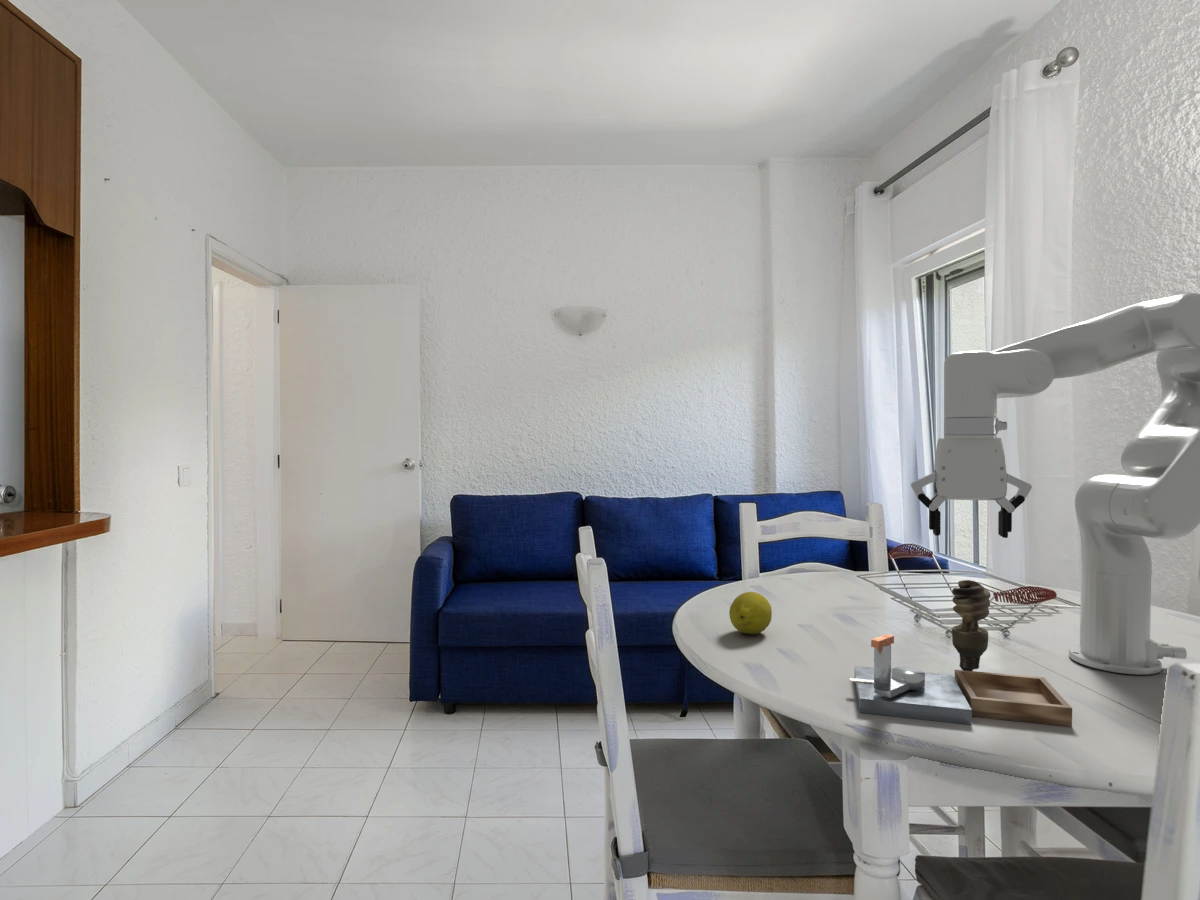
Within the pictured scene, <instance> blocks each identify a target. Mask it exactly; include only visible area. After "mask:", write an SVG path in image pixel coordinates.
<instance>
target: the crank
mask: <svg viewBox="0 0 1200 900" xmlns="http://www.w3.org/2000/svg"><path fill="white" fill-rule="evenodd" d="M892 644H895V636H894V635H892V634H888V633H887V634H883V635H880V636H878V637H874V638H871V639H870V647H871V648H873V668H874V693H876V694H880V695H883V696H886V697H889V698H891V697H893V696H896V695H898V694H900V693H902V692H905V691H907V690H909V689H912V690H917V689H923V688H924V687H925V673H924V672H925V671H923V670H921V669H918V668H916V667H912V666H895V667H893V668H892ZM891 669H892V679H891Z"/></svg>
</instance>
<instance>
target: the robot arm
mask: <svg viewBox="0 0 1200 900" xmlns="http://www.w3.org/2000/svg"><path fill="white" fill-rule="evenodd" d="M1155 352H1157V354H1156V359H1155V360H1156V362H1155V363H1156V369H1157V370H1156V371H1157V373H1158V376H1159V380H1160V381H1159V382H1160V386H1161V399H1160V402H1159V403H1158V405H1157V406H1156V407H1155V410H1154V411H1153V412H1152V414H1151V415H1149V417H1148V418H1147V420H1146V421H1145V422H1144V423H1143V424H1142V425H1141V427H1140V428H1139V429H1138V430H1137V431H1136V433H1135V434H1134V435H1133V437H1132V438H1131V439H1130V440H1129V442H1127V444H1126V445H1125V447H1124V448H1123V451H1122V453H1121V457H1120V464H1121V467H1122V469H1123V470H1124V472H1125V473H1126V474H1115V473H1110V474H1108V473H1107V474H1099V475H1094V476H1093V477H1090V478H1089V479H1087V480H1085V481H1083V482H1082V484H1081V485H1080V486H1079V487H1078V489H1077V491H1076V494H1075V496H1074V497H1075V498H1074V507H1075V514H1076V520H1077V522H1078V523H1077V524H1078V529H1079V534H1080V535H1079V536H1080V548H1081V549H1080V552H1081V553H1080V555H1081V558H1080V563H1081V564H1080V565H1081V566H1080V567H1081V568H1080V605H1079V606H1080V609H1079V610H1080V612H1079V614H1080V615H1079V616H1080V617H1079V618H1080V619H1079V620H1080V621H1079V644H1078V645H1073V646H1071V647H1069V649H1068V656H1069V658H1071V660H1073V661H1074V662H1076V663H1078V664H1081V665H1083V666H1086V667H1089V668H1092V669H1096V670H1100V671H1105V672H1110V673H1115V674H1116V673H1117V674H1124V675H1125V674H1126V675H1138V676H1140V675H1143V676H1144V675H1145V676H1147V675H1155V674H1158V673H1160V672H1161V671H1162V670H1163V667H1162V666H1163V664H1162V662H1161V661H1160V660H1163V659H1164V658H1171V659H1176V660H1177V659H1178V660H1179V659H1180V660H1185V659H1187V656H1188V653H1187V649H1186V648H1185V647H1184V646H1176V645H1175V646H1173V645H1169V643H1165V642H1164V643H1162V642H1158V641H1155V640H1153V639H1152V638H1151V614H1152V613H1151V611H1152V610H1151V609H1152V608H1151V607H1152V604H1151V603H1152V574H1153V572H1152V570H1153V566H1152V565H1153V564H1152V557H1151V553H1150V549H1149V548H1148V547H1149V546H1148V545H1147V543H1146V540H1145V539H1144V537H1145V538H1146V537H1147V538H1152V539H1158V540H1178V539H1181V538H1183V537H1186V536H1187V535H1189V534H1190V533H1191V532H1193V531H1194V530H1195V529H1196V528H1197V527H1198V526H1199V525H1200V293H1199V292H1198V293H1196V292H1190V293H1189V292H1186V293H1181V294H1180V293H1179V294H1176V295H1170V296H1167V297H1160V298H1156V299H1149V300H1145V301H1141V302H1137V303H1134V304H1131V305H1128V306H1125V307H1122V308H1120V309H1116V310H1114V311H1111V312H1109V313H1105V314H1102V315H1099V316H1097V317H1094V318H1091V319H1088V320H1084V321H1081V322H1078V323H1075V324H1073V325H1069V326H1066V327H1062V328H1061V329H1057V330H1054V331H1051V332H1049V333H1045V334H1043V335H1042V334H1041V335H1039V336H1037V337H1033V338H1030V339H1026V340H1023V341H1019V342H1017V343H1012V344H1009V345H1006V346H1003V347H1001V348H998V349H995V350H992V351H987V350H968V351H958V352H953V353H950V354H948V355H947V356H946V357H945V360H944V362H943V363H944V364H943V437H938V439H937V441H936V442H937V443H936V448H935V455H934V465H933V466H934V467H933V472H932V473H930V474H927V475H925V476H923V477H921V478H918V479H916V480H915V481H912V482H911V483H910V487H911V489H912V491H913V493H914V494H915V496H916V498H917V500H918V501H919V502H921V503H922V504H923V505H924V506H925V507H926V509H928V528H929V531H932V533H933V535H934V536H939V537H940V536H941V511H940V510H939V508H940V506H941V505H942V504H943V503H944V502H945V501H946V500H953V501H954V500H955V501H994V502H996V503H997V504H998V506H999V507H1000V510H999V511H998V515H997V516H998V518H997V519H998V521H997V522H998V523H997V524H998V525H997V526H998V527H997V530H998V531H997V534H998V535H999V536H1000V537H1002V539H1003V538H1004V539H1008V538H1009V533H1011V532H1012V530H1013V529H1012V528H1013V518H1012V517H1013V513H1014V512H1015V510H1016V509H1017V508H1018V507H1020V506H1021V505H1022V504H1023V503H1024V502H1025V501H1026V498H1027V497H1028V495H1029V494H1030V492H1031V490H1032V488H1033V485H1032V484H1030V483H1028V482H1026V481H1024V480H1022V479H1020V478H1017V477H1016V476H1013V475H1011V474H1009V473H1007V466H1006V456H1005V455H1006V454H1005V450H1004V443H1003V441H1002V438H1001V437H998V436H997V435H998V434H999V432H1001V431H1006V430H1008V422H1007V421H1002V420H999V418H998V417H997V415H998V409H997V408H998V401H997V400H998V399H1004V398H1006V399H1007V398H1008V399H1009V398H1010V399H1011V398H1012V399H1013V398H1025V397H1032V396H1036V395H1038V394H1040V393H1042V392H1045V391H1046V390H1047V389H1048V388H1049V387H1050V385H1052V383H1053V381H1054V380H1056V379H1065V378H1073V377H1080V376H1085V375H1088V374H1094V373H1098V372H1101V371H1104V370H1107V369H1109V368H1112V367H1115V366H1118V365H1119V364H1122V363H1126V362H1129V361H1131V360H1134V359H1137V358H1139V357H1142V356H1143V357H1144V356H1145V355H1147V354H1148V355H1150V354H1151V353H1155ZM932 483H933V493H934V496H932V498H931V499H930V498H929V497H928V496H927V495H926V494H925V492H924V490H923V487H925V486H927V485H930V484H932ZM1008 484H1010V485H1012V486H1014V487H1016V488H1017V491H1016V494H1014V496H1013V497H1012V498H1010V499H1008V498H1007V497H1006V496H1007V493H1008V492H1007V491H1008Z"/></svg>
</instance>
